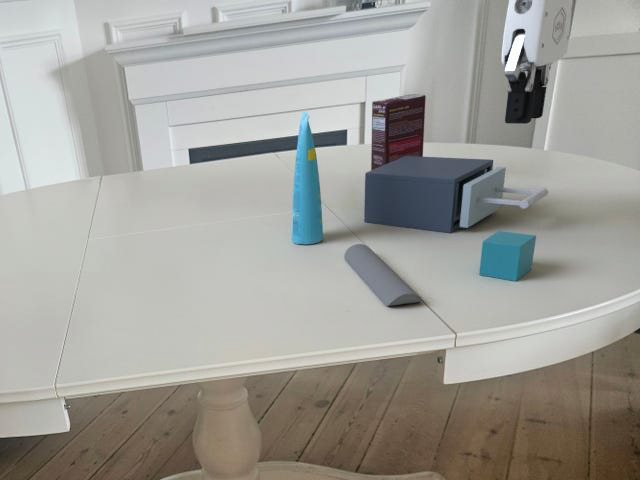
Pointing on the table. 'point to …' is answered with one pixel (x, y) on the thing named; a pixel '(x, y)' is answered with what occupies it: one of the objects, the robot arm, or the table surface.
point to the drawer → (487, 196)
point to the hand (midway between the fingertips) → (523, 119)
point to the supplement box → (397, 128)
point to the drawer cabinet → (418, 191)
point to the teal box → (507, 255)
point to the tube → (306, 190)
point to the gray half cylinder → (380, 276)
